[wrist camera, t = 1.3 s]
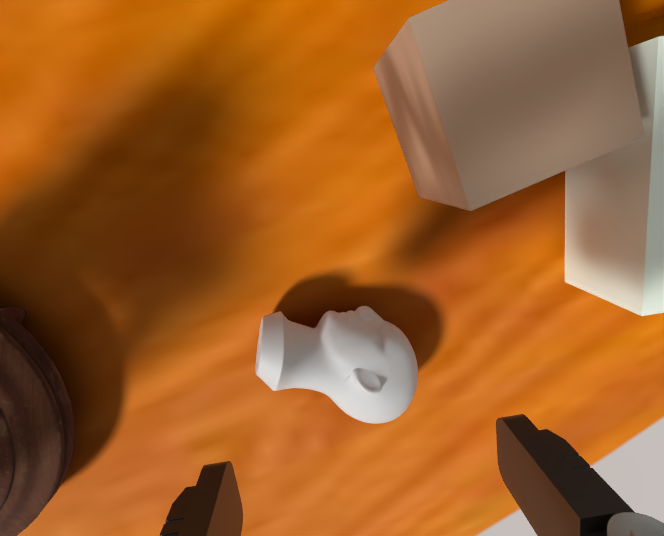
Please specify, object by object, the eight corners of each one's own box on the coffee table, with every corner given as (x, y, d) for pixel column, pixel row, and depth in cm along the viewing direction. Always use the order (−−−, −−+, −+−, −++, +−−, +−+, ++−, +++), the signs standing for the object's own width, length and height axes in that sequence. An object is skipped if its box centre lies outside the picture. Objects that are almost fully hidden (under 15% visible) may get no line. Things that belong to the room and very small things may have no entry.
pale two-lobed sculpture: (413, 326, 22) (381, 416, 21) (277, 272, 20) (239, 367, 20) (453, 338, 17) (414, 451, 17) (285, 271, 16) (236, 392, 15)
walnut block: (372, 68, 17) (408, 18, 11) (501, 10, 17) (605, -71, 11) (418, 197, 19) (470, 211, 13) (537, 145, 18) (644, 136, 13)
